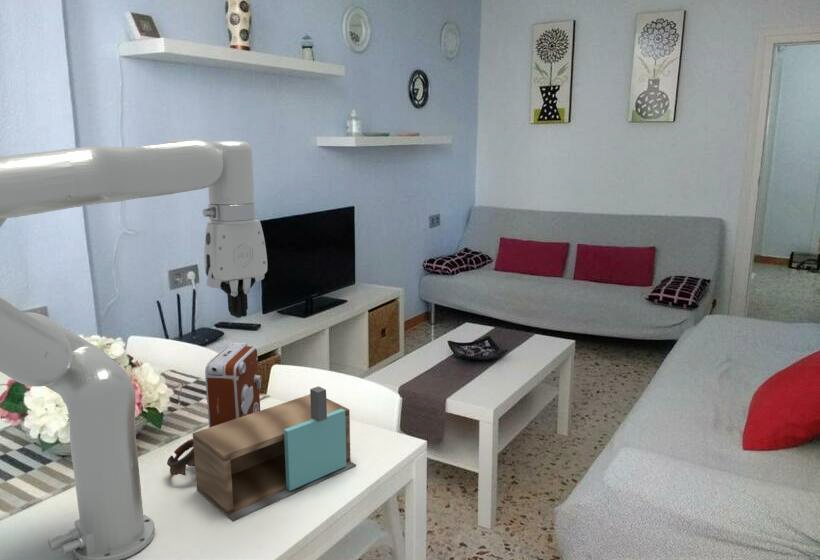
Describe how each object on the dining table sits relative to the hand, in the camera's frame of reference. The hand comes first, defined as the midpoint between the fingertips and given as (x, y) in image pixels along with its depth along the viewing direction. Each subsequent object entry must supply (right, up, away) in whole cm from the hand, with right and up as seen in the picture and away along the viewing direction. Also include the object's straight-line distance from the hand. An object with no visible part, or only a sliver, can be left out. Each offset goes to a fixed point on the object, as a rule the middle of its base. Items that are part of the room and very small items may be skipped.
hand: (238, 315), depth 114 cm
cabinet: (+4, -33, +13) cm, 36 cm away
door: (+12, -33, +12) cm, 37 cm away
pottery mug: (-12, -33, +15) cm, 38 cm away
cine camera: (-8, -29, +33) cm, 44 cm away
